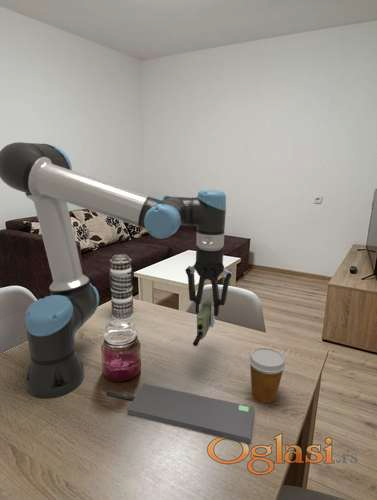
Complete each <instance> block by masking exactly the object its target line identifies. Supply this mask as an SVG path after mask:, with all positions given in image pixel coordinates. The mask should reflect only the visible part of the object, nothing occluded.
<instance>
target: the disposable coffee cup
mask: <svg viewBox="0 0 377 500" xmlns="http://www.w3.org/2000/svg"><path fill="white" fill-rule="evenodd" d="M248 362H249V365H250V380H251V381H250V385H251V395H252V397H253V398H254V399H255V400H256V401H257V402H258V403H262V404H271V403H273V402H274V401H275V400H276V398H277V395H278V392H279V391H278V390H279V387H280V383H281V379H282V375H283V372H284V370H285V369H286V365H287V362H286V360H285V357H284V355H283V354H282V353H281V352H280V351H279V350H278V349H274V348H271V347H265V346H264V347H262V346H261V347H257V348H254V349H253V350H252V351H251V353H250V354H249V356H248Z"/></svg>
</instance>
